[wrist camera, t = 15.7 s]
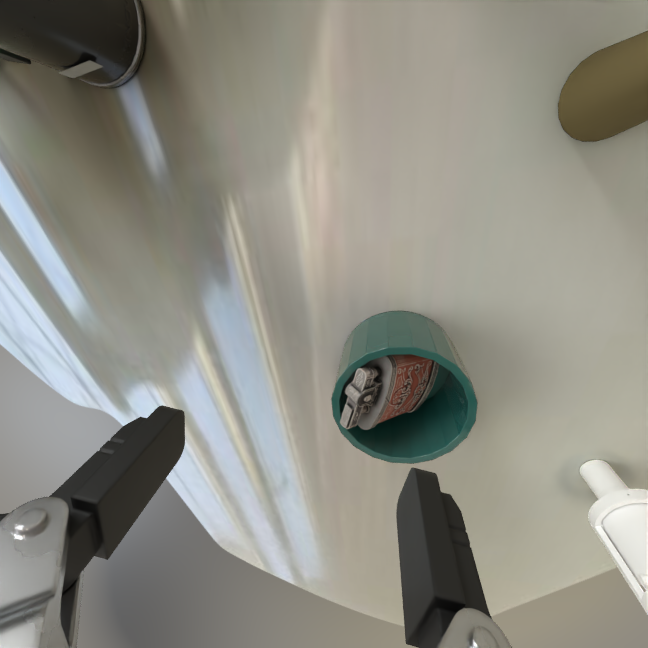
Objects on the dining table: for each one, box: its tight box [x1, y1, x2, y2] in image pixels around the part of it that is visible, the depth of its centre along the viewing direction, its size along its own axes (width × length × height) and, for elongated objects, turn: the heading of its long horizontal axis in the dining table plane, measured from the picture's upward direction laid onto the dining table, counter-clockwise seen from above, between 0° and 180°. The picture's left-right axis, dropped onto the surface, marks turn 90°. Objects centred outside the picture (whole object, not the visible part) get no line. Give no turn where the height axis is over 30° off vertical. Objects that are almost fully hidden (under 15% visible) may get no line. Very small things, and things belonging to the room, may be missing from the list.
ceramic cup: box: [331, 311, 477, 464], centre depth 31 cm, size 12×12×8 cm
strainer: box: [580, 460, 648, 615], centre depth 29 cm, size 7×7×15 cm
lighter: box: [340, 355, 439, 430], centre depth 30 cm, size 8×3×10 cm
